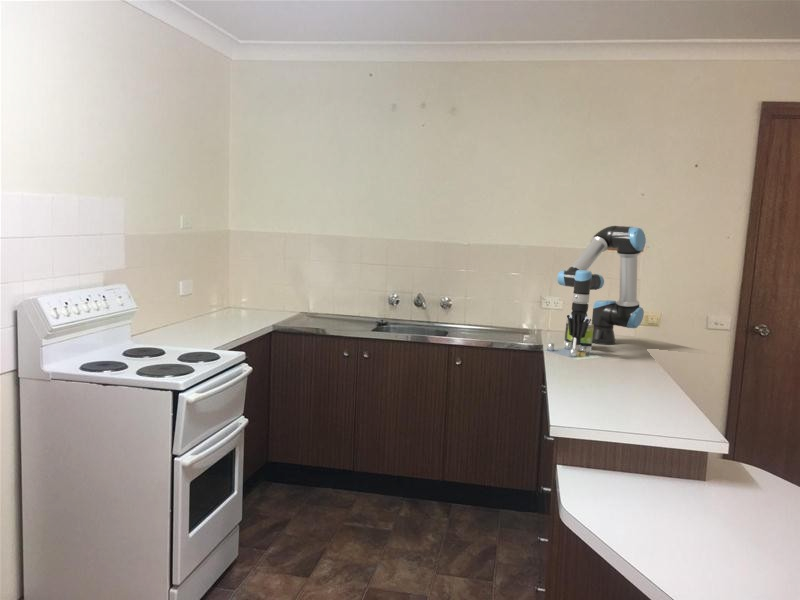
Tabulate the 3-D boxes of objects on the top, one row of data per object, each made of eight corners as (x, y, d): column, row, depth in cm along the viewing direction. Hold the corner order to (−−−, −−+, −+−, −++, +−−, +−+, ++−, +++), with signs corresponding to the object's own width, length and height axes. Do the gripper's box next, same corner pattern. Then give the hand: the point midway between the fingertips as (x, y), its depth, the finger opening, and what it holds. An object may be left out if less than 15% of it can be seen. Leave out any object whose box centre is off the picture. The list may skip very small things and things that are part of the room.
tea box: (591, 353, 334) (594, 324, 332) (571, 352, 334) (574, 323, 332) (582, 347, 349) (584, 319, 347) (563, 346, 349) (565, 318, 347)
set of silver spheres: (566, 348, 336) (566, 341, 336) (593, 355, 322) (594, 348, 322) (545, 350, 327) (546, 343, 327) (573, 357, 313) (574, 350, 313)
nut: (578, 354, 323) (579, 349, 322) (587, 356, 319) (588, 352, 319) (573, 354, 320) (574, 350, 320) (582, 357, 316) (583, 352, 316)
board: (567, 350, 337) (567, 347, 337) (603, 359, 320) (603, 356, 320) (542, 352, 327) (543, 350, 327) (578, 362, 309) (579, 359, 309)
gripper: (564, 300, 322) (559, 348, 325) (586, 304, 311) (581, 354, 314) (574, 300, 326) (569, 347, 329) (596, 304, 316) (591, 353, 319)
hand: (575, 350), depth 322 cm, fingers closed
